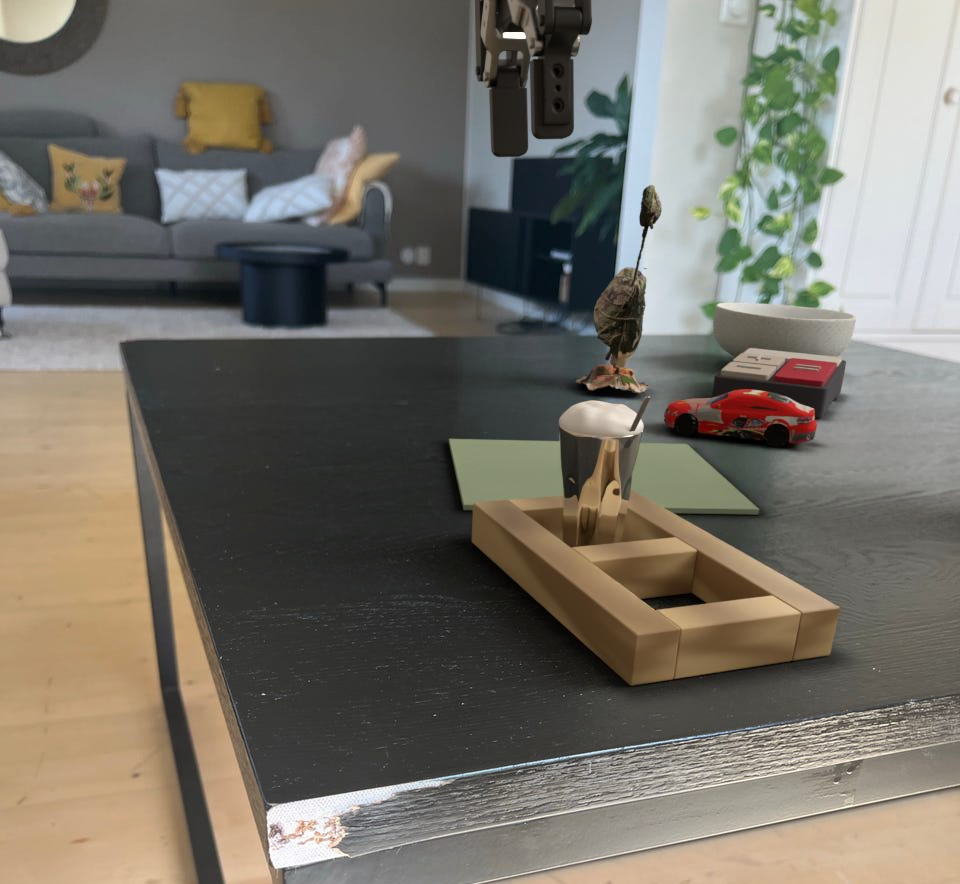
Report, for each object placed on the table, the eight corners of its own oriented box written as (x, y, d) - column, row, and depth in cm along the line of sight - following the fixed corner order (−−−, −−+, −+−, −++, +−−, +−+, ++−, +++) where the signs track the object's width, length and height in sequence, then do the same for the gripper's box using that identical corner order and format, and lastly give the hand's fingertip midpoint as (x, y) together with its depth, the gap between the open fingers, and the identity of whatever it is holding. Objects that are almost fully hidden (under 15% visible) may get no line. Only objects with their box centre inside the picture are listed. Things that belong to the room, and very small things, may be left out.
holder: (629, 527, 63) (633, 489, 62) (830, 655, 47) (840, 607, 46) (471, 542, 59) (472, 502, 58) (630, 686, 43) (636, 634, 42)
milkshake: (599, 587, 53) (617, 401, 49) (532, 558, 57) (544, 382, 53) (655, 570, 56) (677, 392, 52) (588, 544, 60) (603, 375, 55)
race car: (656, 433, 88) (661, 388, 86) (669, 422, 92) (674, 378, 90) (810, 452, 83) (818, 404, 82) (815, 439, 88) (823, 393, 86)
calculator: (714, 368, 98) (746, 342, 110) (709, 410, 100) (740, 381, 112) (828, 380, 94) (848, 353, 106) (820, 425, 96) (840, 393, 108)
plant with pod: (654, 382, 110) (676, 186, 102) (644, 401, 100) (669, 185, 92) (582, 376, 112) (598, 182, 104) (566, 394, 102) (582, 181, 94)
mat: (686, 448, 83) (687, 443, 83) (758, 514, 67) (759, 509, 66) (448, 443, 81) (448, 438, 81) (463, 510, 65) (463, 504, 65)
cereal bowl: (857, 385, 114) (869, 321, 111) (711, 375, 116) (719, 312, 113) (832, 362, 129) (843, 305, 126) (704, 353, 131) (711, 298, 128)
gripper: (643, -259, 46) (637, 131, 52) (548, -141, 59) (553, 160, 65) (487, -271, 44) (499, 133, 50) (425, -147, 57) (441, 162, 63)
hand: (529, 148), depth 57 cm, fingers open, 8 cm apart
